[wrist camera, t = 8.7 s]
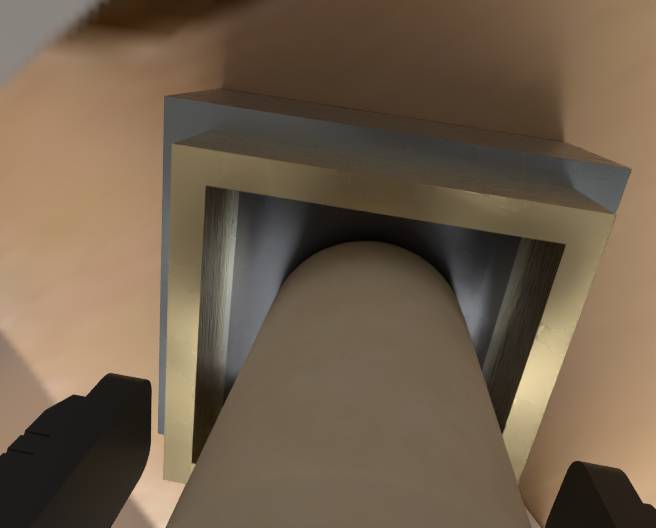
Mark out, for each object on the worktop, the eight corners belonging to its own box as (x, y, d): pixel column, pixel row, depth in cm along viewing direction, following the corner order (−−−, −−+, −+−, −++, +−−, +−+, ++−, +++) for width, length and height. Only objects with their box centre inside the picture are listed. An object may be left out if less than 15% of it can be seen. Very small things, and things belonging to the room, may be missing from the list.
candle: (301, 210, 14) (126, 515, 4) (494, 273, 14) (723, 702, 4) (253, 373, 16) (65, 815, 6) (421, 428, 16) (473, 940, 7)
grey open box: (564, 142, 17) (687, 191, 10) (483, 405, 21) (532, 567, 14) (221, 88, 18) (117, 101, 11) (205, 355, 22) (122, 490, 15)
